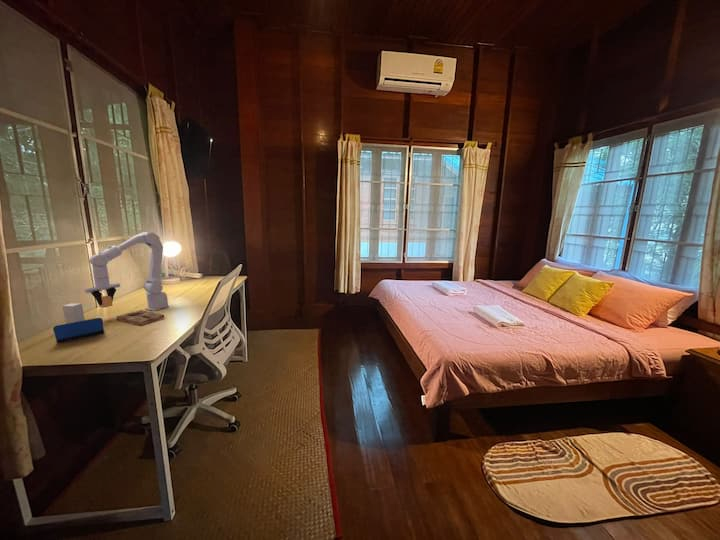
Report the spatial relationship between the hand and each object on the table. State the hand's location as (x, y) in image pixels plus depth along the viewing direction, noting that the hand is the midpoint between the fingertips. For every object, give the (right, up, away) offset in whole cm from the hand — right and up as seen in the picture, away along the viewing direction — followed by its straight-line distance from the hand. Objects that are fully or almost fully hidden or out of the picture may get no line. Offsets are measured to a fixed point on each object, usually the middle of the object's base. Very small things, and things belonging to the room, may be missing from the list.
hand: (105, 303), depth 157 cm
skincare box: (-4, -11, -12) cm, 17 cm away
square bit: (0, -1, 0) cm, 1 cm away
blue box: (+7, -13, -22) cm, 26 cm away
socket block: (+17, -8, +1) cm, 19 cm away
